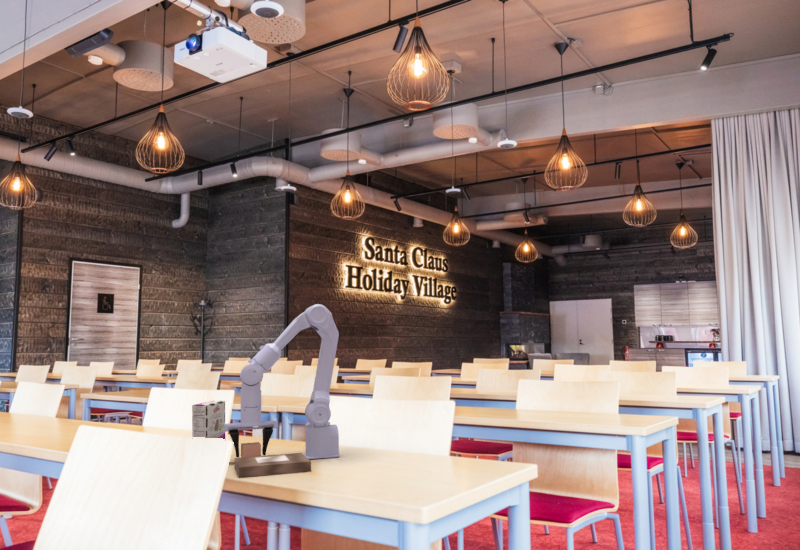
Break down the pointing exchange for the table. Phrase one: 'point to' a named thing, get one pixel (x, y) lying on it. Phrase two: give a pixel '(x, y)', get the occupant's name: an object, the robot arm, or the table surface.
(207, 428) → the candy bar box
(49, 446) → the table surface
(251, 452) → the terracotta cube
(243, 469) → the walnut plinth
